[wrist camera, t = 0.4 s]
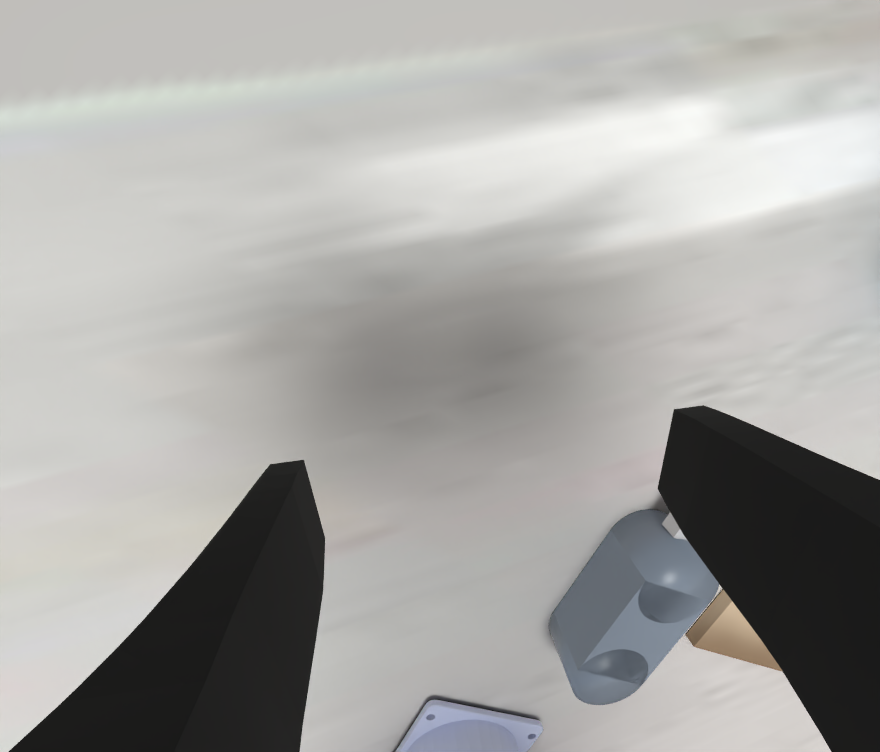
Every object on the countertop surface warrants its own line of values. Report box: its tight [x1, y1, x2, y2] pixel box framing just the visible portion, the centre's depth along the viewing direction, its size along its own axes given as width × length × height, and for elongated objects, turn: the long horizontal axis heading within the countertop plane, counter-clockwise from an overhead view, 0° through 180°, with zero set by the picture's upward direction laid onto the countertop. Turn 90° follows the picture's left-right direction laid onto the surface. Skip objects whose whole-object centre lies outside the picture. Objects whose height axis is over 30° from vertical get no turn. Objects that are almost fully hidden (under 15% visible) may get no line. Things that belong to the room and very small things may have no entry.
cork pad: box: [686, 589, 783, 672], centre depth 28 cm, size 12×12×1 cm
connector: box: [549, 509, 719, 705], centre depth 24 cm, size 12×4×4 cm, turn 154°
